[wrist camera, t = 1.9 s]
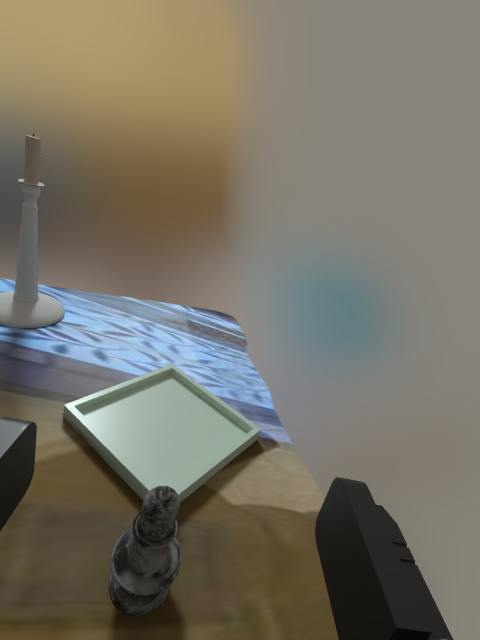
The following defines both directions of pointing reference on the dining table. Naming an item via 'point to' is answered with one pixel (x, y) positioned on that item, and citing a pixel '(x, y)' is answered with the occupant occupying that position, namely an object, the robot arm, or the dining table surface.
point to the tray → (161, 431)
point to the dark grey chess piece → (147, 555)
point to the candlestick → (29, 258)
